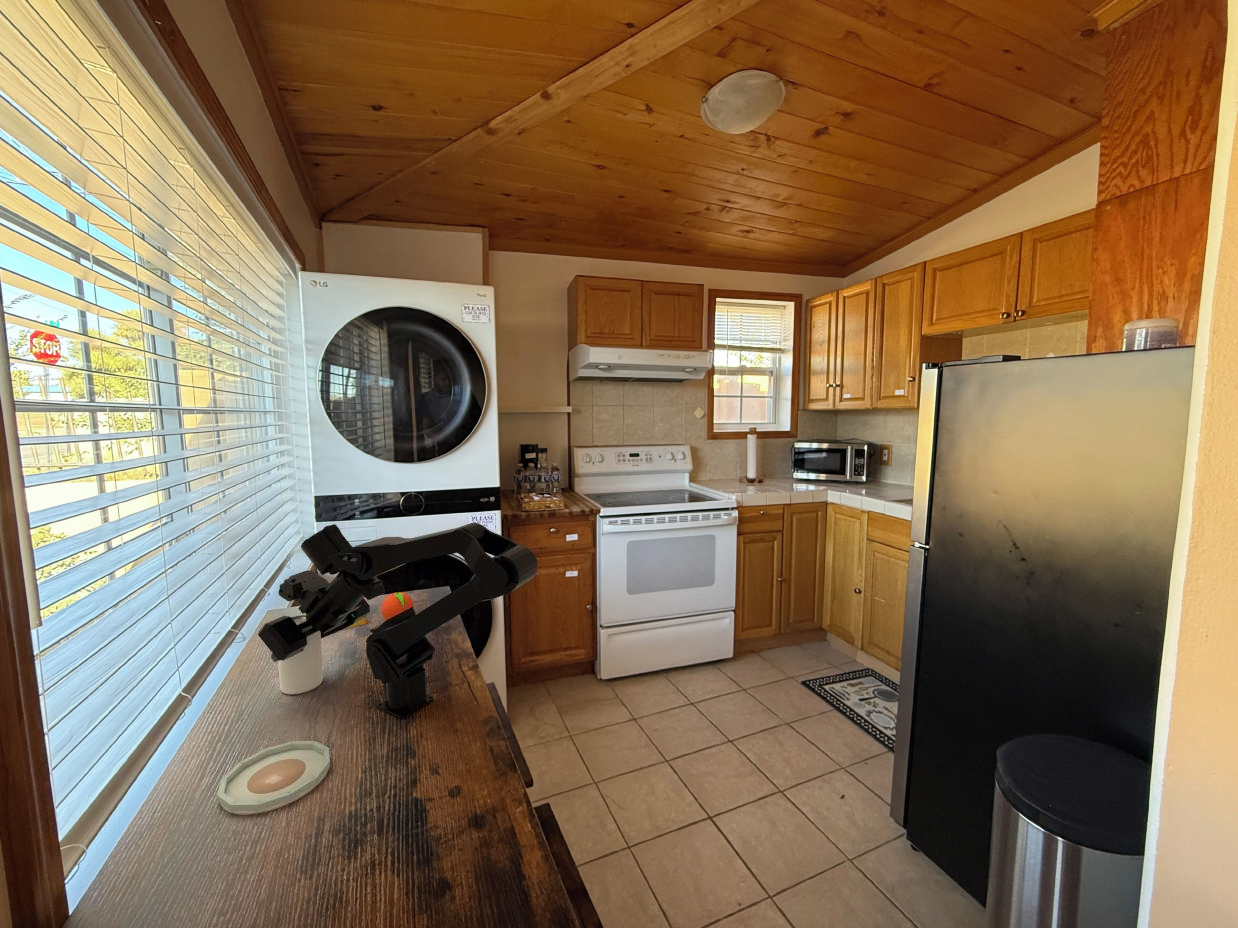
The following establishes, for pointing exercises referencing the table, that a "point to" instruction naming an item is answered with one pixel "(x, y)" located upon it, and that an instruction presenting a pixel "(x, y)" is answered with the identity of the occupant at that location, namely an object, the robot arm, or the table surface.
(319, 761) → the saucer
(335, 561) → the robot arm
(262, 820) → the table surface
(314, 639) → the can
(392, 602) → the clementine
